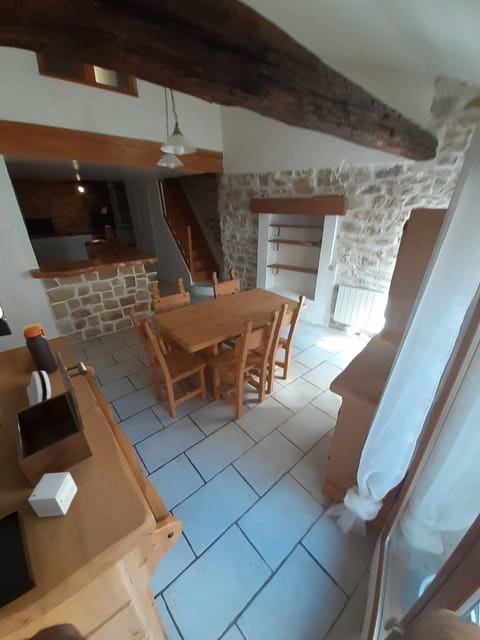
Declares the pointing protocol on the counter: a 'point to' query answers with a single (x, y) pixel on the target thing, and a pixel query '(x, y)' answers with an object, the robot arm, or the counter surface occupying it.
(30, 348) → the bottle
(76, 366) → the lid
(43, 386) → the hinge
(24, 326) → the baking soda box
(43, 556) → the counter surface
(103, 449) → the counter surface
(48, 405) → the chest
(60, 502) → the product box
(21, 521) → the counter surface
